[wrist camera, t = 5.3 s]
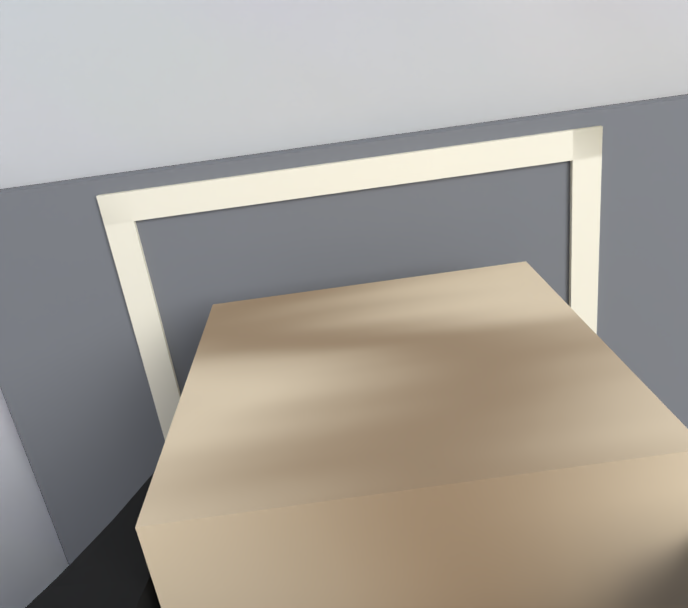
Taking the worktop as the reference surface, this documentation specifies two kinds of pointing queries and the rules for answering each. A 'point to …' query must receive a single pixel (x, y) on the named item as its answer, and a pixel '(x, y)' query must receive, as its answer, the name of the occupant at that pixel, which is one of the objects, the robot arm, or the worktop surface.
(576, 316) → the maple block
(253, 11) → the worktop surface
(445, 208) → the build mat
